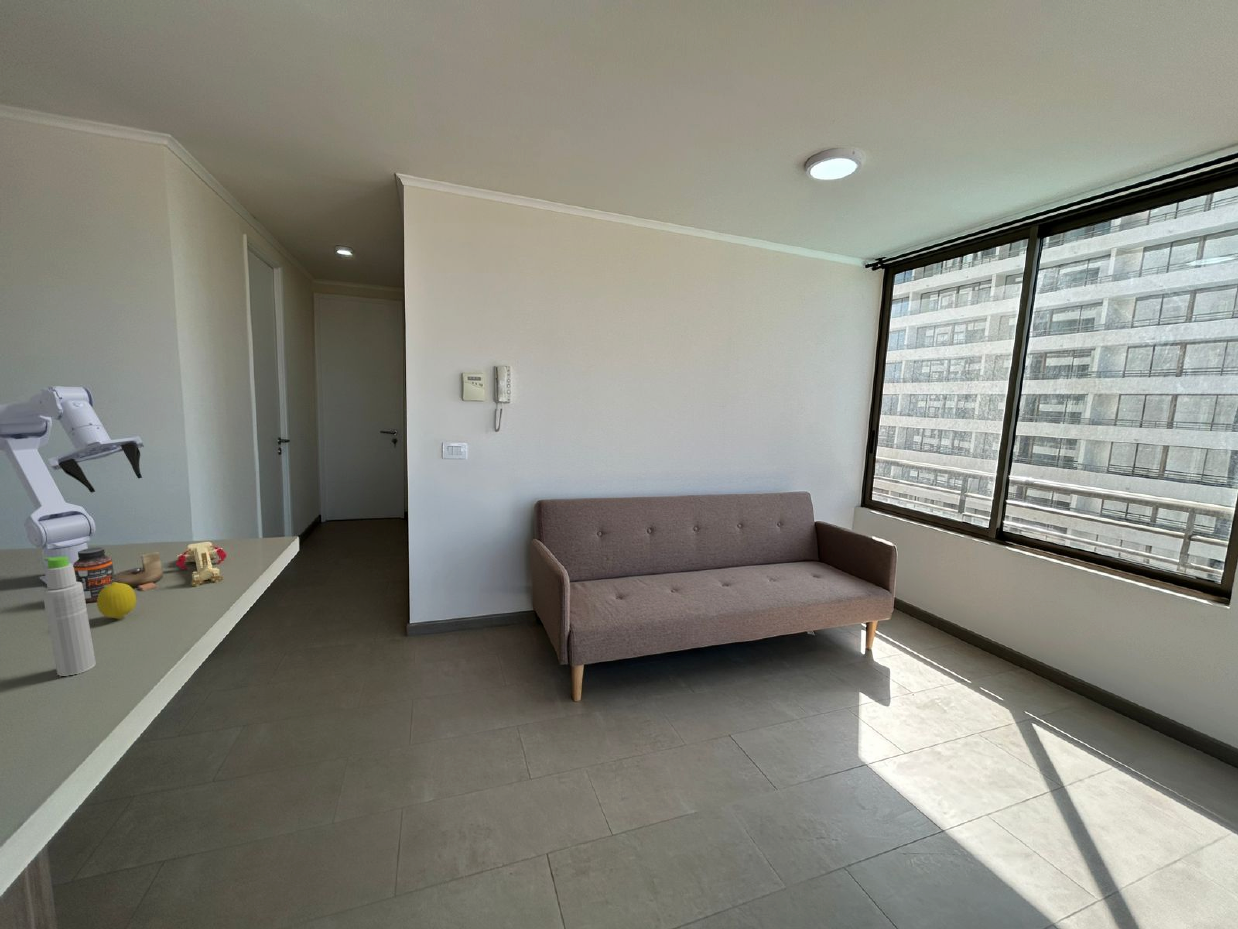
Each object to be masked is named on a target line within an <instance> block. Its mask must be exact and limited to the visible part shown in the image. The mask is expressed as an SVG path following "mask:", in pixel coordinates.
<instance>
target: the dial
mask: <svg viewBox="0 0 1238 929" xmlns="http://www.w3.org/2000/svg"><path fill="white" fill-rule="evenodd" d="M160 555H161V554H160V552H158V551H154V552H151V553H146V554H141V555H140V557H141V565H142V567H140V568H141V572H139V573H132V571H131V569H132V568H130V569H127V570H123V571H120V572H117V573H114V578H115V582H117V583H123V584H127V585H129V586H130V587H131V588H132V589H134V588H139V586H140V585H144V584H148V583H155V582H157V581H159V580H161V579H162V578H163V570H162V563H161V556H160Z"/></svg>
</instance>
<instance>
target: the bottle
mask: <svg viewBox="0 0 1238 929" xmlns="http://www.w3.org/2000/svg"><path fill="white" fill-rule="evenodd" d="M45 561H48V567H47V568H46V569H44V574H45V575H44V576H46V582H47V584H46V588H44V589H42V591H41V593H42V598H43V604H44V609H45V613H46V619H47V625H48V630H49V636H50V637H49V638H50V640H51V641H50V642H51V646H52V650H53V657H54V663H55V668H56V673H57V676H58V675H72V674H77V675H80V674H83V673H85V672H87V671H89V670H91V669H93V668H94V667H96V664H97V663H96V657H95V650H94V644H93V640H92V633H91V627H90V620H89V616H88V610H87V604H86V603H87V602H85V597H84V591H83V585H82V583H81V582H76V576H75V571H74V568H73V564H71V563H69V562H68V558H67V557H66V556H60V557H54V558H46V559H45ZM82 672H83V673H82ZM79 673H80V674H79Z"/></svg>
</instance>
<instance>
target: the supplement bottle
mask: <svg viewBox="0 0 1238 929" xmlns="http://www.w3.org/2000/svg"><path fill="white" fill-rule="evenodd" d="M78 557H79V559H78V560H77V561H76V562H75V563H74V564H73V568H74V571H75V576H76V582H81V583H82V585H83V591H84V597H85V603H93V602H97V599H98V595H99V593H100V591H101V590H102V589H104V588H105V587H106V586H108V585H111V583H113V582H115V578H114V575H115V571H114V564H113V560H112V558H111V557H110V556H109V555H106V553H105V548H104V547H100V546H99V547H98V546H97V547H88V549H84V550H81V551H79V552H78Z"/></svg>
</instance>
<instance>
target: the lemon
mask: <svg viewBox="0 0 1238 929" xmlns="http://www.w3.org/2000/svg"><path fill="white" fill-rule="evenodd" d="M136 603H137V596H136V593H135V591H134V588H131V587H130V586H129V585H127V584H123V583H117V582H113V583H111V585H108V586H106V587H105V588H104V589H102V590H101V591H100V593H99V595H98V599H97V601H96V606H97V610H98V611H99V612H100V614H101V615H102V616H104V617H107V618H113V619H116V620H121V619H122V618H124V616H126V615H128V614H129V613H130V612H131V611H132V610H133V609H134V608H135V606H136Z"/></svg>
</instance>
